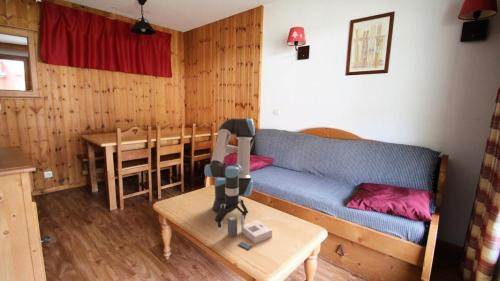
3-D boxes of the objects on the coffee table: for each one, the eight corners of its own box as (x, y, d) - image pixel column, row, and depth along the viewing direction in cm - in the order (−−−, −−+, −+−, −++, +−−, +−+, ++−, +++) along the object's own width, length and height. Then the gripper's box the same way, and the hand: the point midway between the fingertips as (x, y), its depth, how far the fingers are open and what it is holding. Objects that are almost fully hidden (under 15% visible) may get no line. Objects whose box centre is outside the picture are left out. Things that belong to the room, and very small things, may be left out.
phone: (237, 246, 131) (237, 244, 131) (241, 243, 134) (241, 241, 134) (248, 251, 127) (248, 249, 127) (252, 248, 130) (252, 246, 130)
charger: (227, 234, 142) (227, 218, 140) (233, 232, 144) (233, 216, 142) (231, 237, 138) (231, 220, 137) (237, 235, 141) (237, 218, 139)
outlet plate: (241, 231, 145) (241, 225, 144) (257, 225, 151) (257, 219, 150) (255, 243, 133) (255, 236, 132) (271, 236, 140) (272, 229, 139)
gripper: (214, 201, 126) (214, 238, 130) (254, 191, 141) (253, 225, 144) (208, 196, 132) (208, 232, 136) (247, 187, 147) (246, 220, 150)
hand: (231, 229), depth 140 cm, fingers open, 13 cm apart
